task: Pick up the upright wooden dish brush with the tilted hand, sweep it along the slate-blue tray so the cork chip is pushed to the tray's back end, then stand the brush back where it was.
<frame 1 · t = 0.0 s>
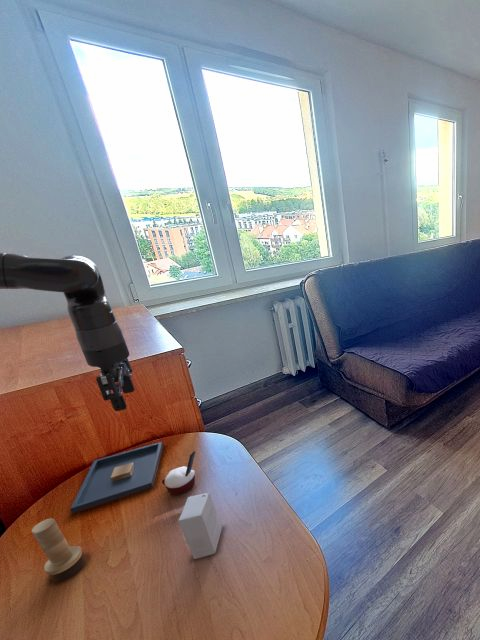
hand: (125, 400, 84), 24 cm above the table, tool pointing down, fingers open, 8 cm apart
cork chip: (123, 474, 91), point 1 cm above the table, touching tray
cocoa: (185, 490, 87), on the table
tray: (124, 477, 91), on the table
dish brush: (69, 569, 69), on the table
cosmetic box: (208, 545, 74), on the table
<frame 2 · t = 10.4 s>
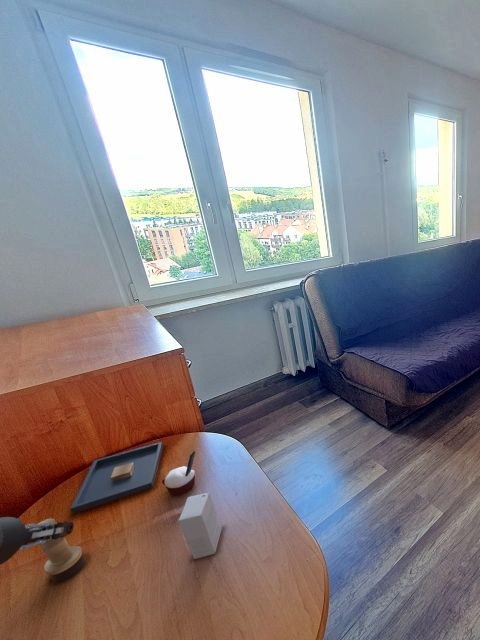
hand: (59, 530, 68), 9 cm above the table, tool tilted 45°, fingers closed on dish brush, 3 cm apart
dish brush: (69, 569, 69), on the table, touching gripper
everything else where it was.
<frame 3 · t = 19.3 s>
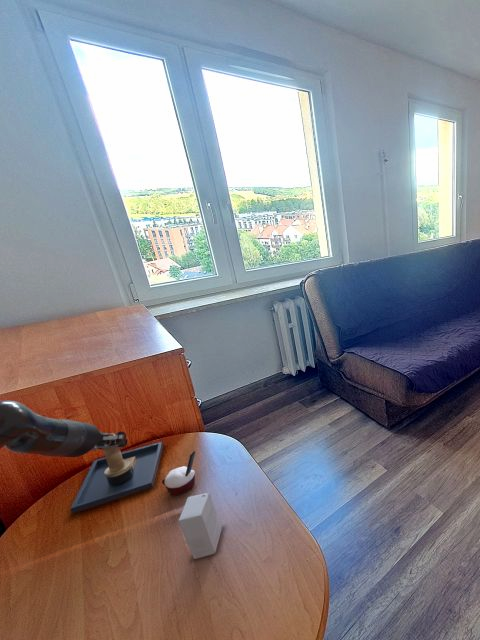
hand: (116, 444, 89), 10 cm above the table, tool tilted 45°, fingers closed on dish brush, 3 cm apart
cork chip: (126, 467, 93), point 1 cm above the table, touching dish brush, tray
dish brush: (121, 478, 89), point 1 cm above the table, tilted 6°, touching cork chip, gripper
everything else where it was.
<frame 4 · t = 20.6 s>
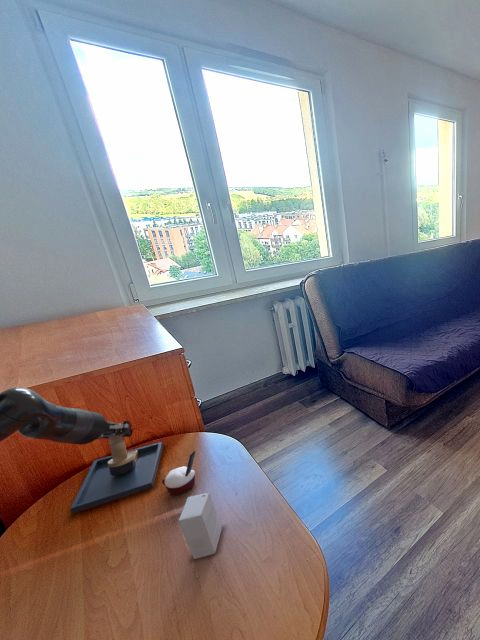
hand: (122, 434, 93), 10 cm above the table, tool tilted 45°, fingers closed on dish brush, 3 cm apart
cork chip: (128, 460, 96), point 1 cm above the table, touching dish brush, tray
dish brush: (122, 470, 91), point 2 cm above the table, tilted 14°, touching cork chip, gripper
everything else where it was.
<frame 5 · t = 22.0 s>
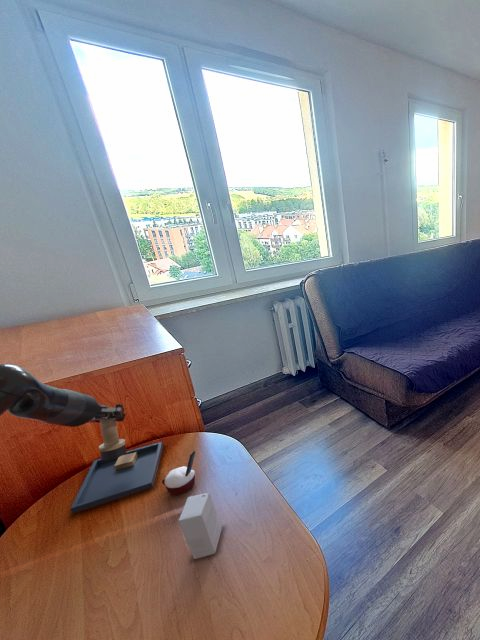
hand: (114, 418, 91), 15 cm above the table, tool tilted 45°, fingers closed on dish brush, 3 cm apart
cork chip: (127, 462, 95), point 1 cm above the table, touching tray
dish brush: (114, 455, 90), point 7 cm above the table, tilted 14°, touching gripper
everything else where it was.
when the fingers open (9 cm above the table, at t = 31.0 s): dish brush stays where it is, on the table.
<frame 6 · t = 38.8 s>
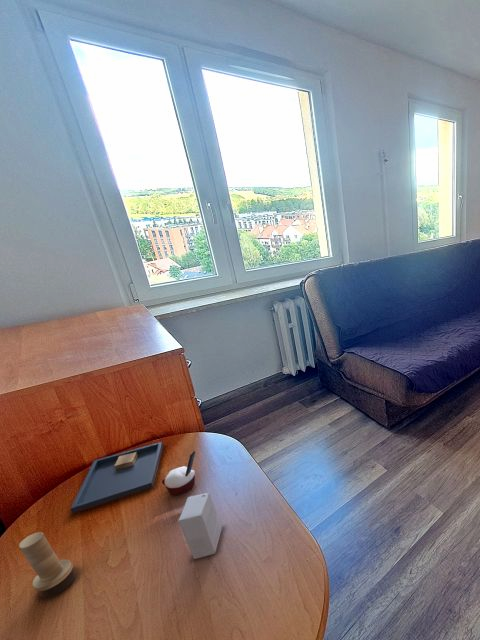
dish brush: (59, 584, 66), on the table
everything else where it was.
at the end: cork chip inside the target area in the tray (0.8 cm from its centre), point 0.8 cm above the tray's base; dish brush tilted 0°; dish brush inside the target area (3.0 cm from its centre), on the table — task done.
